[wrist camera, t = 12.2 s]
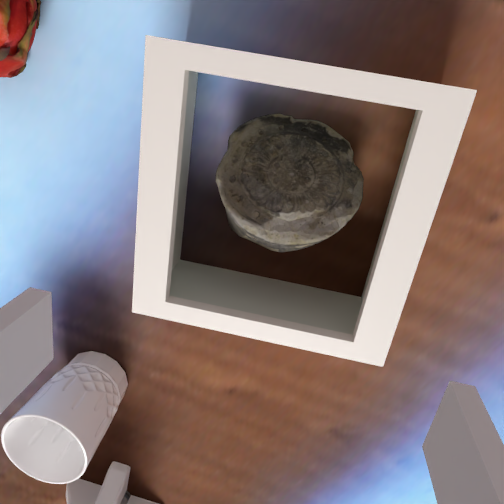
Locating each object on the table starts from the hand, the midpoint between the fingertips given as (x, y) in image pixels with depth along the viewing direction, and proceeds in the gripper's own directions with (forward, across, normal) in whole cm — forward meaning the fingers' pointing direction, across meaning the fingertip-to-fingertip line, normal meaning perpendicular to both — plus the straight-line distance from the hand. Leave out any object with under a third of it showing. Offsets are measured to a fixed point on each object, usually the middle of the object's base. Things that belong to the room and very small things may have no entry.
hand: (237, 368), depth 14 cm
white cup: (+24, +16, +24) cm, 37 cm away
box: (+23, 0, 0) cm, 23 cm away
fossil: (+24, 0, -1) cm, 24 cm away
